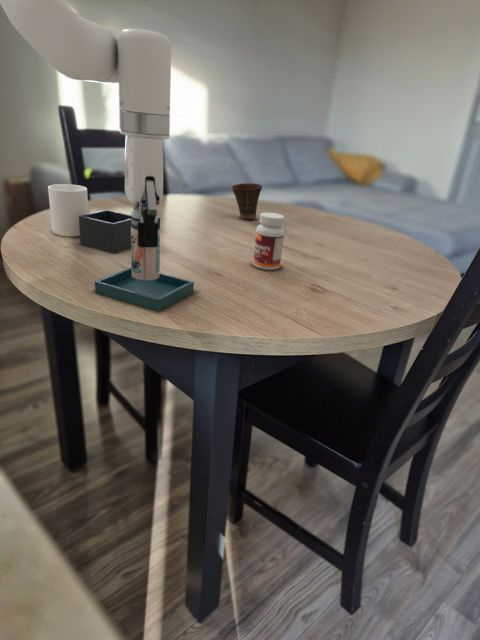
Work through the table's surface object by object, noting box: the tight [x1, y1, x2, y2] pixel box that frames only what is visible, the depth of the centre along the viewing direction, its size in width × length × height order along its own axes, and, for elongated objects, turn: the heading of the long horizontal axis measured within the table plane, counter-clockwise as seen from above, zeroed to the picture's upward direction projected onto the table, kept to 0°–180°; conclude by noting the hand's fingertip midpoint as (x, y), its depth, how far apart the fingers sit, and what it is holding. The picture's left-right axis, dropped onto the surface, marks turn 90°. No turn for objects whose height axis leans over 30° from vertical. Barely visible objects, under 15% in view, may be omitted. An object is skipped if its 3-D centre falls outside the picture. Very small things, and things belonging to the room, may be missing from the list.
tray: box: [94, 266, 195, 312], centre depth 86 cm, size 13×11×2 cm
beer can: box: [130, 207, 161, 282], centre depth 83 cm, size 5×5×12 cm
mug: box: [47, 183, 90, 238], centre depth 113 cm, size 12×8×10 cm
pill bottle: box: [252, 212, 285, 271], centre depth 105 cm, size 6×6×11 cm
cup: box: [231, 182, 263, 221], centre depth 144 cm, size 9×9×10 cm
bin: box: [79, 209, 131, 254], centre depth 108 cm, size 9×9×6 cm
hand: (145, 240), depth 82 cm, fingers closed on beer can, 4 cm apart
